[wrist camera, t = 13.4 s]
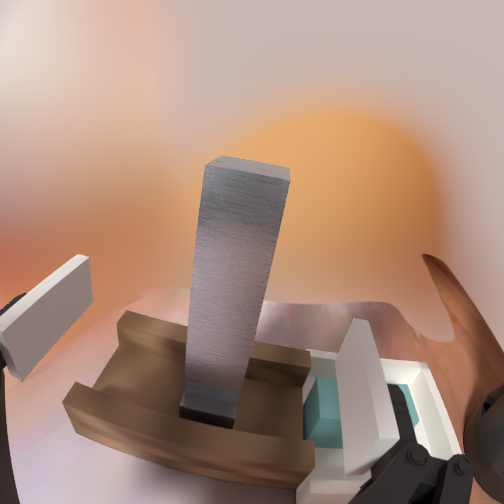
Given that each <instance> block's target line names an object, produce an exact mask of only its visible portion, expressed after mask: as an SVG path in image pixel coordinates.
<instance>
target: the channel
mask: <svg viewBox="0 0 504 504" xmlns="http://www.w3.org/2000/svg"><path fill="white" fill-rule="evenodd" d="M117 331H118V340H119V346H118V348H117V350H116V351H115V353H114V354H113V356H112V357H111V359H110V360H109V362H108V363H107V365H106V367H105V368H104V370H103V371H102V373H101V374H100V376H99V378H98V379H97V381H96V382H95V384H94V386H93V387H92V388H90V387H87V386H85V385H82V384H80V383H78V382H75V383H74V385H73V386H72V388H71V389H70V391H69V392H68V394H67V395H66V397H65V398H64V400H63V405H64V407H65V409H66V412H67V414H68V416H69V418H70V420H71V423H72V425H73V427H74V429H75V431H76V433H78V434H80V435H82V436H84V437H87V438H89V439H91V440H94V441H96V442H98V443H101V444H103V445H106V446H108V447H111V448H113V449H116V450H119V451H121V452H124V453H127V454H129V455H132V456H135V457H138V458H141V459H144V460H147V461H150V462H153V463H157V464H160V465H163V466H167V467H170V468H174V469H178V470H182V471H185V472H189V473H194V474H198V475H202V476H207V477H212V478H216V479H222V480H227V481H233V482H238V483H245V484H252V485H259V486H267V487H276V488H287V489H297V488H298V487H299V486H300V484H301V483H302V482H303V481H304V480H305V479H306V477H307V476H308V475H309V474H310V473H311V472H312V470H313V469H314V468H315V441H308V440H303V386H304V383H305V381H306V379H307V376H308V374H309V372H310V370H311V355H310V351H306V350H300V349H294V348H288V347H283V346H277V345H271V344H266V343H261V342H256V341H253V345H252V349H251V354H250V358H249V362H248V366H247V370H246V374H245V378H244V382H243V386H242V390H241V394H240V398H239V402H238V406H237V411H236V417H235V421H234V425H233V429H232V430H231V429H226V428H221V427H217V426H212V425H208V424H203V423H199V422H195V421H191V420H187V419H183V418H179V405H180V403H181V400H182V397H183V394H184V382H185V362H186V346H187V331H188V327H187V326H183V325H179V324H175V323H171V322H167V321H164V320H160V319H156V318H152V317H149V316H145V315H141V314H138V313H134V312H131V311H127V310H126V312H125V313H124V314H123V316H122V317H121V318H120V320H119V321H118V322H117Z"/></svg>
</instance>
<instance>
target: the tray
mask: <svg viewBox="0 0 504 504" xmlns="http://www.w3.org/2000/svg"><path fill="white" fill-rule="evenodd" d="M306 351H310V355H311V370H310V372H309V374H308V376H307V379H306V381H305V383H304V386H303V404H304V402H305V400H306V398H307V396H308V394H309V392H310V390H311V388H312V386H313V384H314V382H315V379H316V377H317V376H321V377H329V378H337V377H336V368H335V358H336V356H337V354H338V353H335V352H328V351H321V350H315V349H308V348H306ZM380 361H381V364H382V368H383V372H384V375H385V379H386V383H395V384H408V387H409V390H410V393H411V396H412V399H413V402H414V405H415V408H416V411H417V414H418V417H419V422H418V424H417V425H416V426H415V427H414V431H415V435H416V439H417V442H418V443H419V444H421V445H423V446H424V447H425V448H426V449H427V450H428V452H429V454H430V456H432V457H436V458H440V459H444V460H449V459H450V458H451V457H452V456H453V455H456V454H462V453H461V450H460V447H459V444H458V441H457V438H456V435H455V432H454V430H453V427H452V424H451V421H450V419H449V416H448V414H447V411H446V408H445V406H444V403H443V401H442V398H441V396H440V393H439V391H438V389H437V386H436V384H435V381H434V379H433V377H432V374H431V372H430V370H429V368H428V365H427V363H426V362H414V361H402V360H392V359H383V358H380ZM370 478H371V469H370V470H369V471H367V472H366V473H365V474H364V475H345V469H344V453H343V449H335V448H318V447H315V468H314V469H313V470H312V472H311V473H310V474H309V475H308V476H307V477H306V479H305V480H304V481H303V482H302V483H301V484H300V486H299V487H298V488H297V489H296V504H348V503H349V502H350V500H351V499H352V498H353V497H354V496H355V495H356V494H357V493H358V491H359V490H360V489H361V488H359V487H361V486H362V485H363V484H364V483H365V482H366V481H367V480H369V479H370Z"/></svg>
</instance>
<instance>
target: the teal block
mask: <svg viewBox="0 0 504 504" xmlns="http://www.w3.org/2000/svg"><path fill="white" fill-rule="evenodd" d="M303 440H308V441H315V447H318V448H335V449H343V439H342V427H341V415H340V405H339V395H338V386H337V378H329V377H321V376H317V377H316V379H315V382H314V384H313V386H312V388H311V390H310V392H309V394H308V396H307V398H306V400H305V402H304V404H303Z"/></svg>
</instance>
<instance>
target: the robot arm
mask: <svg viewBox="0 0 504 504" xmlns="http://www.w3.org/2000/svg"><path fill="white" fill-rule="evenodd" d="M92 303H93V294H92V284H91V273H90V259H89V257H86V256H83V255H79V254H77V255H76V256H75V257H73V258H72V259H71V260H69V261H68V262H66V263H65V264H64V265H63V266H61V267H60V268H59V269H57V270H56V271H55V272H53V273H52V274H51V275H50V276H48V277H47V278H46V279H45V280H43V281H42V282H41V283H40V284H38V285H37V286H36V287H35V288H33V289H32V290H31V291H30V292H29V293H24V294H21V295H19V296H17V297H15V298H14V299H13V300H12V301H11V302H9V304H7V305H6V306H5V307H4V308H3V309H1V310H0V504H20V502H19V498H18V494H17V489H16V485H15V480H14V475H13V469H12V463H11V457H10V450H9V442H8V434H7V423H6V409H5V380H4V379H5V376H4V371H3V368H4V367H5V366H6V365H7V367H8V370H9V372H10V374H11V375H12V376H14V377H15V378H17V379H18V380H20V381H22V382H23V381H24V379H25V378H26V377H27V376H28V375H29V373H30V372H31V371H32V370H33V369H34V367H35V366H36V365H37V364H38V363H39V361H40V360H41V359H42V358H43V357H44V356H45V355H46V353H47V352H48V351H49V350H50V349H51V348H52V346H53V345H54V344H55V343H56V342H57V341H58V340H59V339H60V337H61V336H62V335H63V334H64V333H65V332H66V331H67V330H68V329H69V328H70V326H71V325H72V324H73V323H74V322H75V321H76V320H77V319H78V318H79V317H80V316H81V314H83V312H84V311H85V310H86V309H87V308H88V307H89V306H90V305H91V304H92ZM335 368H336V377H337V386H338V395H339V405H340V415H341V427H342V439H343V453H344V469H345V475H364V474H365V473H366V472H367V471H369V470H370V469H371V478H370V479H369V480H367V481H366V482H365V483H364V484H363V485H362V486H361V487H359V488H361V489H360V490H359V491H358V493H357V494H356V495H355V496H354V497H353V498H352V499H351V500H350V502H349V503H348V504H469V501H470V495H471V489H472V482H473V475H474V476H475V478H476V480H477V481H478V483H479V484H480V486H481V487H482V488H483V489H484V490H485V491H486V492H487V493H488V494H489V495H490V496H491V497H492V498H493V499H495V500H496V501H498V502H500V503H502V504H504V383H503V384H502V385H500V386H499V387H498V388H496V389H495V390H493V391H492V392H491V393H489V394H488V395H487V396H486V397H485V398H484V399H483V400H482V401H481V402H480V403H479V404H478V406H477V407H476V408H475V409H474V410H473V412H472V413H471V414H470V416H469V418H468V420H467V423H466V426H465V432H464V445H465V452H466V456H465V455H463V454H456V455H453V456H452V457H451V458H450V459H449V460H444V459H440V458H436V457H432V456H430V454H429V452H428V450H427V449H426V448H425V447H424V446H423V445H421V444H419V443H418V442H417V439H416V435H415V431H414V427H413V423H412V420H411V416H410V414H409V409H408V406H407V402H406V398H405V395H404V393H403V392H402V390H401V389H400V388H399V386H398V385H395V384H387V383H386V379H385V375H384V372H383V368H382V364H381V361H380V357H379V354H378V351H377V347H376V344H375V340H374V337H373V334H372V331H371V327H370V324H369V321H368V320H363V319H357V318H353V320H352V323H351V325H350V327H349V330H348V332H347V334H346V336H345V339H344V341H343V343H342V345H341V348H340V350H339V352H338V354H337V356H336V358H335Z"/></svg>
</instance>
